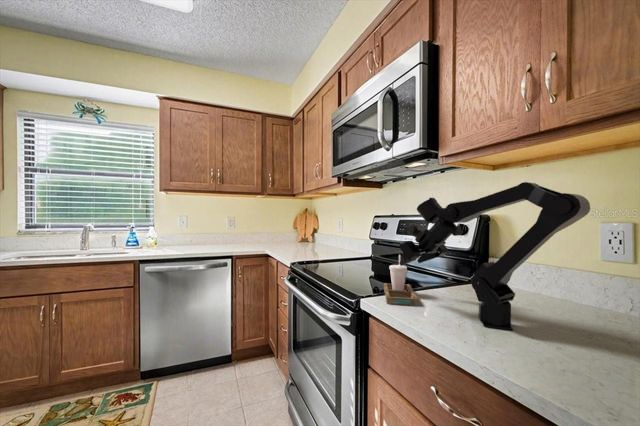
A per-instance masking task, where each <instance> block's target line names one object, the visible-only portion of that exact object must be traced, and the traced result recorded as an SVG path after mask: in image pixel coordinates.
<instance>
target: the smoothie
mask: <svg viewBox="0 0 640 426" xmlns="http://www.w3.org/2000/svg"><path fill="white" fill-rule="evenodd" d="M400 260H401V254H398V264H391V265H389V266H388V267H389V268H388V269H389V270H390V280H391V284H392V289H393V290H404V284H405V283H406V274H407V271H408V267H407V266H406V265H402V266H401V265H400Z"/></svg>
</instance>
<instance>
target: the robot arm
mask: <svg viewBox="0 0 640 426" xmlns="http://www.w3.org/2000/svg"><path fill="white" fill-rule="evenodd" d="M524 201H528V202H529V203H531V204H532V205H535V206H537V207H539V208H541V210H540V212H539V214H538V216H537V219H536V222H535V223H534V224H533V225H531V227H530V228H529V229H528V230H527V231H526V232H525V233H524V234H523V235H522V236H520V238H519V239H518V240H517V241H516V242H515V243H514V244H513V245H512V246H511V247H510V248H509V249H508V250H506V252H504V253H503V255H501V256H500V257H499V258H498V259H497V261H495V262H494V261H490V262H484V263H481V264H480V265H479V267H478V269H477V270H476V271H474V272H472V273H471V274H472V275H473V276H472V277H471V278H470V282H471V287H472V288H473V290H474V292H475V296H476V297H477V301H478V302H480V303H478V320H479V321H480V322H481V324H482V326H483V327H485V328H493V329H499V330H506V331H507V330H508V331H513V330H514V327H513V326H512V303H511V301H514V298H515V296H516V292H514V291H513V289H512V288H511V287H510V286H509V285H508V284H509V282H510V280H511V278H512V276H513V273H514V272H515V271H516V270H517V269H518V268H520V267H521V265H523V264H524V263H525V262H527V260H528V259H529V258H530V257H531V256H532V255H533V254H535V253H536V252H537V251H538V250H539V249H540V248H541V247H542V246H543V245H545V243H547V242H548V241H549V240H550V239H552V237H553V236H555V234H557V233H558V232H560V231H562V230H564V229H566V228H568V227H569V226H572V225H573V224H575V223H577V222H578V221H580V220H581V219H583V218H585V217H586V216H587V215H588V214H589V213H590V211H591V204H590V201H589V199H587V198H586V197H585V196H583V195H581V194H575V193H568V192H567V193H566V192H565V193H564V192H561V191H556V190H553V189H550V188H547V187H544V186H541V185H539V184H538V183H536V182H527V181H524V182H521V183H519V184H517V185H515V186H512V187H509V188H506V189H503V190H500V191H497V192H493V193H491V194H488V195H485V196H483V197H479V198H477V199H473V200H466V201H465V200H464V201H458V202H452V203H449V204H447V205H446V206H445V207H442V205H440V203H439V202H438V200H437V199H436V198H435V197H429V198H428V199H427V200H425V201H423V202H421V203H419V204H418V206H417V207H416V211H417V212H418V214H419V215H420V216H421V217H422V218H423V220H424V221H425V222H426V223H427V224H433V225H432V226H431V227H430V228H429V229H428V228H427V227H425V226H424V225H421V224H420V223H410V224H408V226H406V232H407V234H408V235H411V236H413V237H414V238H415V239H414V240H415V241H416V243H418V245H416V244H415V243H414V242H413V241H412V240H402V241H400V243H399V244H398V248H399V249H400V250H401V252H402V253H401V254H402V255H401V256H400V265H401V266H402V265H403V266H406V265H407V264H410V263H412V262H413V263H414V262H415V261H417V263H418V264H421V263H424V262H427V261H431V260H434V259H437V258H441V257H442V256H443V257H445V255H446V254H447V253H448V251H449V250H448V249H449V248H448V247H447V246H446V244H447V242H446V241H447V239H449V238H450V237H451V236H454V237H459V236H462V235H463V233H462V226H457V223H458V224H459V223H463V224H465V223H468V222H470V221H472V220H475V219H476V218H478V217H479V216H481V215H482V214H485V213H487V212H491V211H493V210H497V209H501V208H504V207H507V206H512V205H515V204H518V203H521V202H524ZM455 223H456V224H455Z"/></svg>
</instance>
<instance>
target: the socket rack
mask: <svg viewBox="0 0 640 426" xmlns="http://www.w3.org/2000/svg"><path fill="white" fill-rule="evenodd" d="M407 290H408V291H407ZM383 291H384V296H385V302H386V305H402V306H416V307H417V306H419V299H418V297H417V295H416V292H415V291H414V289H413V288H412V286H411V284H409V283H408V284H407V283H406V284H404V290H393V289H392V283H387V282H385V283H383Z"/></svg>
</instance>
